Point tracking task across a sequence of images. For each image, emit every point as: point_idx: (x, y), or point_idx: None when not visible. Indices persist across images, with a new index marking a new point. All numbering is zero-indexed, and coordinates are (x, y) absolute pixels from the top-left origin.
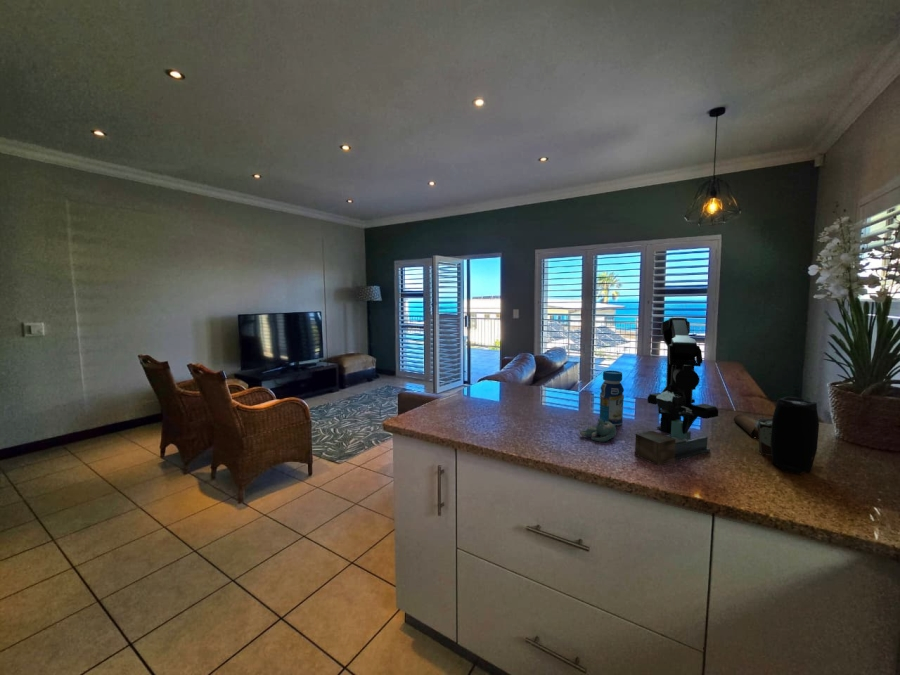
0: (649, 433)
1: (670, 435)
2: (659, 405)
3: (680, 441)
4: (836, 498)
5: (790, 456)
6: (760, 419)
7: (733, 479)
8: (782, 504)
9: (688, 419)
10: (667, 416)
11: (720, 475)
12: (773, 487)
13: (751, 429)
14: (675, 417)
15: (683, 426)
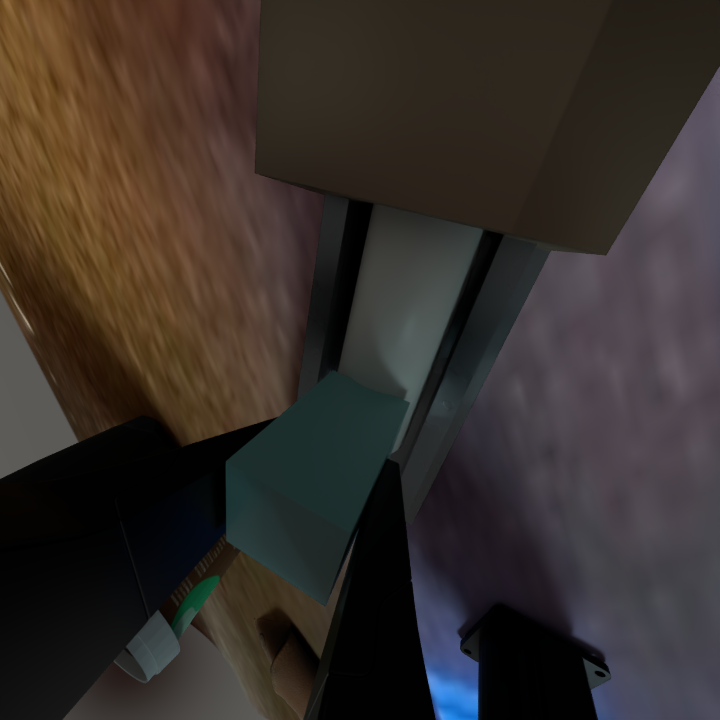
0: (624, 19)
1: (427, 436)
2: None
3: (340, 368)
4: (54, 321)
5: (84, 442)
6: (147, 670)
7: (151, 222)
8: (26, 140)
9: (46, 484)
10: (417, 642)
11: (183, 219)
12: (98, 268)
13: (284, 660)
14: (331, 631)
15: (237, 444)
